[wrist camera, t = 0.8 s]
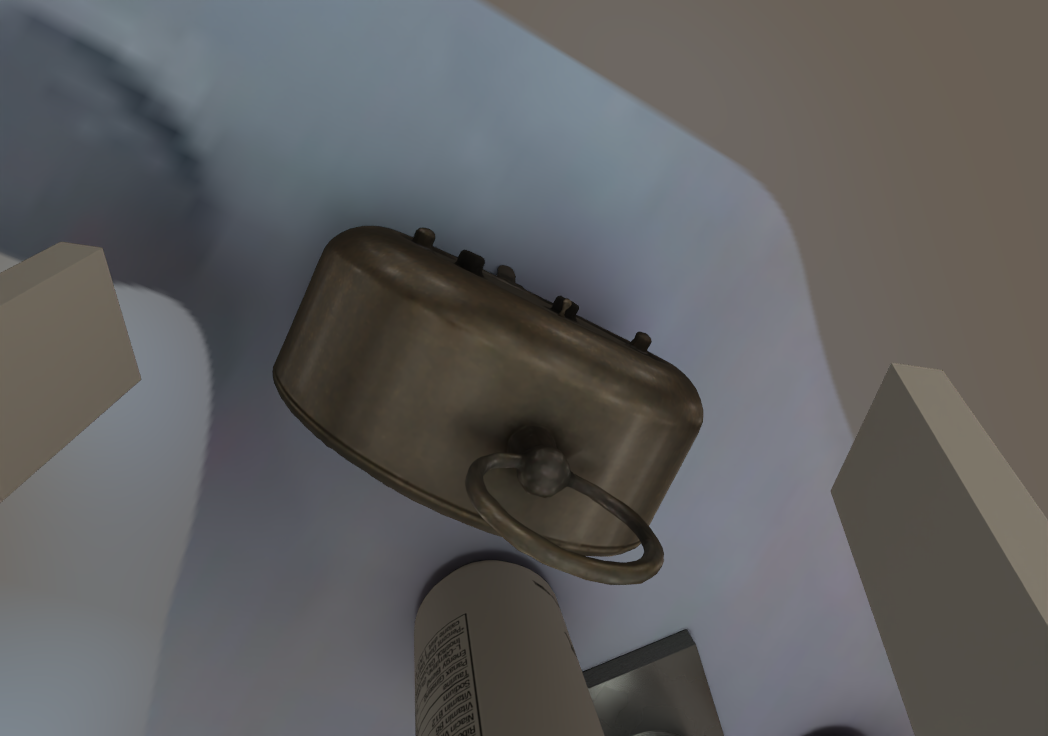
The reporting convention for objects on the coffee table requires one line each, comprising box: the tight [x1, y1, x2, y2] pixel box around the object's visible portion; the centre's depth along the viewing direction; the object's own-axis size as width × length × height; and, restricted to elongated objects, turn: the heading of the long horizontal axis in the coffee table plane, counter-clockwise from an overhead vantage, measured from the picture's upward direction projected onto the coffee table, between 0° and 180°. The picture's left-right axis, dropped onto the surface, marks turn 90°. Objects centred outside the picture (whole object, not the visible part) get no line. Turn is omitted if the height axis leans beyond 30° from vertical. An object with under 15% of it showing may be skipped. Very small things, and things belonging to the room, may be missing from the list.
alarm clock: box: [273, 226, 703, 585], centre depth 16 cm, size 11×5×16 cm, turn 63°
